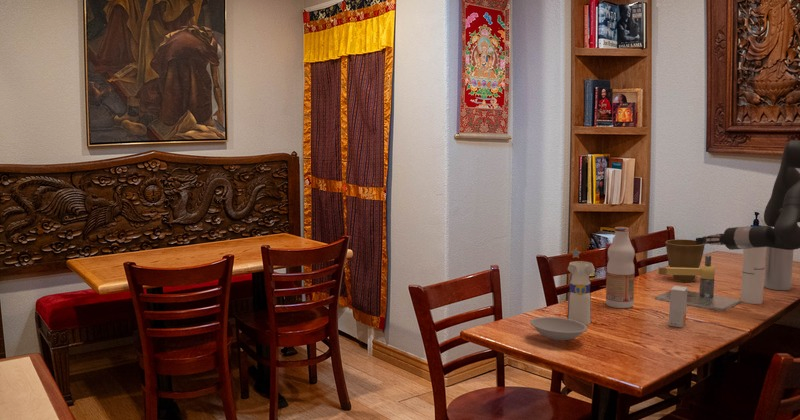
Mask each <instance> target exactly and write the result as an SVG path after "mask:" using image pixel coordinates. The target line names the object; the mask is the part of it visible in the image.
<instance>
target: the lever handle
mask: <svg viewBox="0 0 800 420" xmlns="http://www.w3.org/2000/svg"><path fill="white" fill-rule="evenodd" d="M657 273H658V275H659V276H663V275H664V276H673V275H696V276H698V277H700V278H702V279H714V280H715V278H716V277H715V274H716V266H715V265H712V264H711V266H706V265H705V264H700V267H699V268H676V267H670V266H669V267H665V266H658V272H657ZM700 278H699V279H700Z"/></svg>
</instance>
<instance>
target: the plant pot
mask: <svg viewBox="0 0 800 420" xmlns="http://www.w3.org/2000/svg"><path fill="white" fill-rule="evenodd" d="M705 245H706V244H696V239H684V238H683V239H669V240H666V241H665V249H666V255H667V260H668V263H669V264H668V265H669V267H676V268H700V267H701V263H702V260H703V255H704V251H705ZM672 277H673V280H674V281H676V282H679V283H680V282H681V283H692V282H694V281H695V278H696V275H672Z"/></svg>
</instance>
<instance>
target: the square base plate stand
mask: <svg viewBox="0 0 800 420" xmlns="http://www.w3.org/2000/svg"><path fill="white" fill-rule="evenodd" d="M704 260H705V261H704V265H706V266H711V265H712V255H707V254H706V255H705V256H704ZM714 292H715V278H714V279H702V278H699V290H698V292H696V291H692V290H691V291H690V290H687V306H690V307H695V308H702V309H707V310H711V311H717V312H724V311H726V310H727V309H730V308H732V307H734V306H736V305H739V304H741V302H742V301H741V299H738V298H732V297H727V296H720V295H715V294H714ZM670 293H671V290H669V291H666V292H663V293H661V294H658V295H655V296H654V300H657V301H658V300H659V301H663V302H668V303H670Z"/></svg>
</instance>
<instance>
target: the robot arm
mask: <svg viewBox="0 0 800 420" xmlns="http://www.w3.org/2000/svg"><path fill="white" fill-rule="evenodd" d="M797 169H800V140H794V139H792V140H789V141H788V142H787V143H786V144H785V146H784V149H783V151H782V157H781V162H780V167H779V170H778V172H777V176H776V179H775V181H774V183H773V184H774V185H773V188H772V191H771V192H772V193H771V195H770V198H769V200H768V202H767V204H766V206H765V209H764V212H763V221H764V222H763V223H764V224H765V225H759V226H756V225H755V226H749V225H748V226H747V225H746V226H736V227H727V228H726V229H725V230H724V232H723V233H716V234H710V235H707V236H702V237H696V238H695V240H696V244H705V245H710V246H713V245H716V246H725V248H727V249H728V250H733V251H734V250H743V249H751V248H757V247H766V253H765V270H764V287H763V288H766V289H769V290H775V291H789V290H791V289H792V282H793V281H792V279H793V266H794V265H793V263H794V261H793V260H794V250H798V249H800V226H799V225H798V223H800V172H799V171H798V170H797Z"/></svg>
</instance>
